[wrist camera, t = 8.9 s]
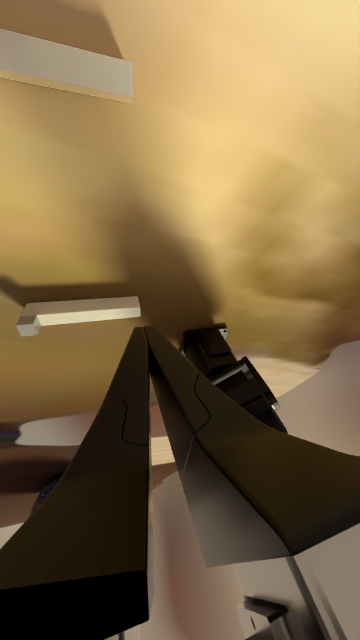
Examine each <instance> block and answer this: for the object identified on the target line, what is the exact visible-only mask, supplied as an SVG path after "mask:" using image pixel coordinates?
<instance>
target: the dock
mask: <svg viewBox="0 0 360 640" xmlns="http://www.w3.org/2000/svg"><path fill="white" fill-rule="evenodd" d="M0 78H5V79H10V80H15V81H20V82H25V83H30V84H35V85H40V86H45V87H50V88H55V89H60V90H65V91H70V92H75V93H80V94H85V95H90V96H95V97H100V98H105V99H110V100H115V101H120V102H125V103H130V104H131V102H132V100H133V99H134V71H133V62H130V61H126V60H122V59H118V58H114V57H110V56H106V55H102V54H98V53H95V52H91V51H87V50H83V49H79V48H75V47H71V46H67V45H63V44H59V43H55V42H52V41H48V40H44V39H40V38H36V37H32V36H28V35H24V34H20V33H16V32H12V31H9V30H5V29H1V28H0ZM131 317H140V304H139V300H138V296H132V297H117V298H101V299H85V300H69V301H53V302H37V303H27V304H26V306H25V308H24V310H23V312H22V314H21V316H20V318H19V320H18V322H17V324H16V327H17V329H18V331H19V333H20V335H21V336H31V335H38V333H39V331H40V328H41V326H44V325H55V324H66V323H77V322H88V321H98V320H109V319H120V318H131Z"/></svg>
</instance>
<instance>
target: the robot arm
mask: <svg viewBox="0 0 360 640" xmlns="http://www.w3.org/2000/svg"><path fill="white" fill-rule="evenodd" d="M227 334H228V328H227V327H218V328H210V329H201V330H193V331H186V332H185V333H184V334H183V341H182V347H181V352H180V351H179V350H178V349H177V348H176V347H175V346H174V345H173V344H172V343H171V342H170V341H169V340H168V339H167V338H166V337H165V336H164V335H163V334H162V333H161V332H160V331H159V330H158V329H156V328H155V327H154V326H153V325H151V326H145V327H135V328H134V329H133V332H132V334H131V336H130V339H129V341H128V344H127V346H126V348H125V351H124V353H123V356H122V358H121V360H120V363H119V365H118V368H117V370H116V372H115V375H114V377H113V380H112V382H111V384H110V387H109V390H108V391H107V394H106V396H105V399H104V401H103V403H102V405H101V407H100V409H99V412H98V414H97V415H96V417H95V419H94V421H93V423H92V425H91V427H90V429H89V430H88V432H87V434H86V436H85V437H84V439H83V441H82V443H81V444H80V446H79V448H78V450H77V451H76V453H75V455H74V457H73V459H72V460H71V462H70V464H69V466H68V467H67V469H66V471H65V472H64V474H63V476H62V477H61V479H60V480H59V482H58V483H57V485H56V486H55V488H54V489H53V491H52V492H51V493H50V494H49V496H48V497H47V498H46V499H45V500H44V502H43V503H42V504H41V505H40V506H39V507H38V508H37V509H36V510H35V511H34V513H33V514H32V515H31V516H30V517H29V518H28V519H27V520H26V521H25V522H24V524H23V525H22V526H21V527H20V528H19V529H18V530H17V531H16V533H15V534H14V535H13V536H12V537H11V538H10V539H9V540H8V541H7V542H6V544H5V545H4V546H3V547H2V548H1V549H0V640H141V627H140V624H142V623H144V622H146V621H148V620H149V616H150V611H151V606H152V601H153V595H154V591H155V590H154V551H153V508H152V507H153V505H152V460H151V417H150V377H151V380H152V384H153V387H154V391H155V394H156V398H157V401H158V404H159V408H160V411H161V415H162V418H163V421H164V425H165V428H166V432H167V435H168V438H169V442H170V445H171V449H172V452H173V455H174V459H175V462H176V466H177V469H178V472H179V476H180V479H181V481H182V486H183V490H184V493H185V496H186V500H187V503H188V506H189V510H190V513H191V517H192V520H193V524H194V527H195V530H196V533H197V537H198V540H199V544H200V547H201V550H202V554H203V557H204V561H205V564H206V567H214V566H222V565H229V564H232V567H233V570H234V573H235V577H236V580H237V583H238V586H239V590H240V593H241V597H242V600H243V602H242V603H240V604H238V605H237V610H238V614H239V617H240V621H241V625H242V628H243V632H244V635H245V640H360V456H354V455H349V454H345V453H342V452H338V451H335V450H333V449H330V448H327V447H324V446H321V445H318V444H315V443H312V442H309V441H306V440H303V439H300V438H297V437H294V436H292V435H289V434H288V433H287V430H286V428H285V427H284V425H283V423H282V422H281V420H280V419H279V417H278V415H277V414H276V412H275V411H274V410H276V409H278V408H280V405H279V403H278V402H277V400H276V398H275V397H274V395H273V393H272V392H271V390H270V389H269V387H268V386H267V384H266V383H265V381H264V380H263V379H262V377H261V376H260V375H259V373H258V372H257V370H256V369H255V368H254V366H253V365H252V364H251V362H250V361H249V360H248V358H247V357H246V356H244V357H243V358H242V359H241V360H239V361H237V360H236V358H235V356H234V355H233V353H232V352H231V348H230V347H229V345H228V344H227V342H226V337H227ZM149 372H150V374H149Z"/></svg>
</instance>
